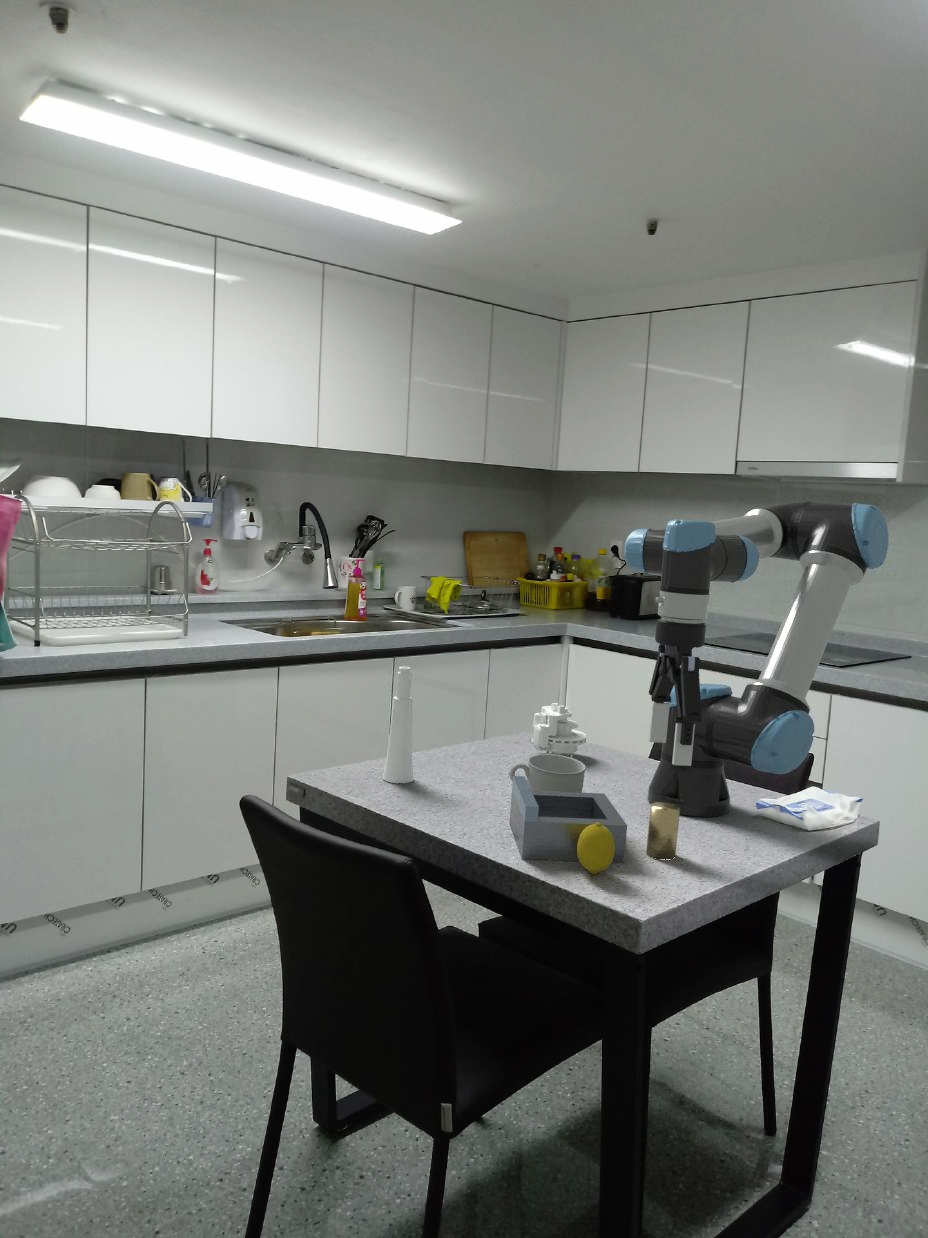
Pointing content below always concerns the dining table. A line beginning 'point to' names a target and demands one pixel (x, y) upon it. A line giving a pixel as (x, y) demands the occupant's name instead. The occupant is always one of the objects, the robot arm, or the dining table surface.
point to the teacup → (552, 773)
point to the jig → (560, 821)
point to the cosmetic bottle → (400, 732)
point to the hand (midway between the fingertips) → (668, 753)
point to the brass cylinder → (663, 830)
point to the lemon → (596, 848)
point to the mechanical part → (556, 731)
